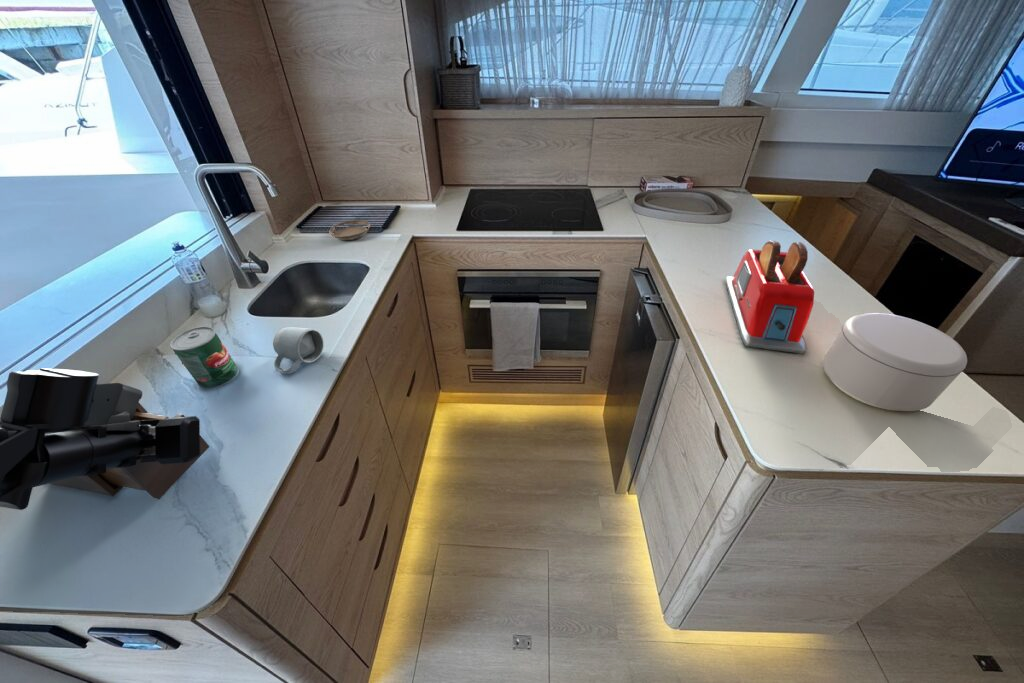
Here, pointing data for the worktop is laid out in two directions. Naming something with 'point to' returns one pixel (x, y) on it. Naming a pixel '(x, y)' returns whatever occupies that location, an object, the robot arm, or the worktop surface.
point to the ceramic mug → (297, 347)
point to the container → (893, 361)
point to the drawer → (150, 469)
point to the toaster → (772, 297)
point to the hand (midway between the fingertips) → (176, 434)
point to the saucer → (350, 230)
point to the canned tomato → (205, 357)
